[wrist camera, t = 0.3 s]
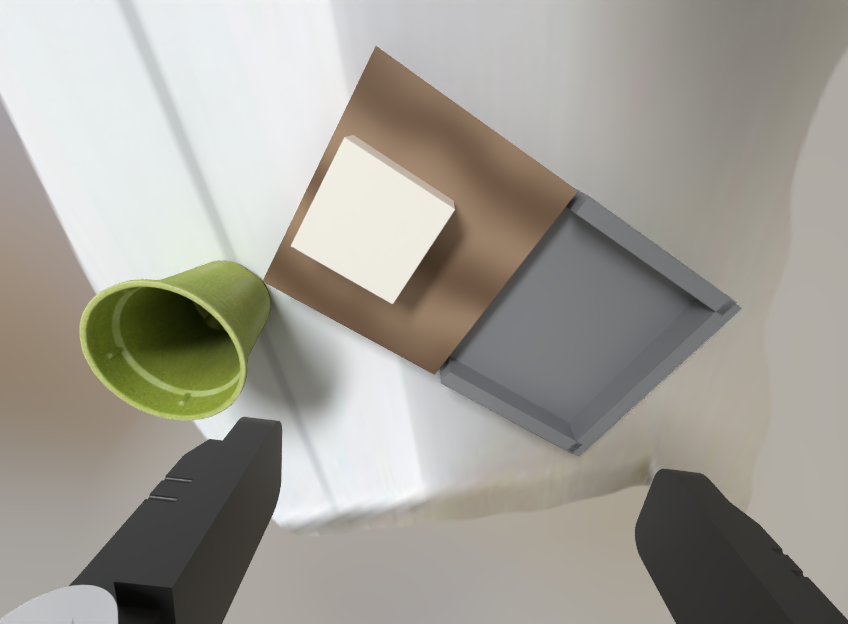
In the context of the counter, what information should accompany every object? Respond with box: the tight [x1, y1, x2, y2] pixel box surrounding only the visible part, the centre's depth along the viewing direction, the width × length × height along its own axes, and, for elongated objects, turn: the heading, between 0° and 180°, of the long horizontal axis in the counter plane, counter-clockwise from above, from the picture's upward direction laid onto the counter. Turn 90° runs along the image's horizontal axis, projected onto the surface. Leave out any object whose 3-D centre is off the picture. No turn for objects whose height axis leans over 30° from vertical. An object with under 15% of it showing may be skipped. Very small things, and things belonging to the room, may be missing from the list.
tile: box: [291, 135, 455, 304], centre depth 25 cm, size 7×7×2 cm
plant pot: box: [80, 261, 270, 421], centre depth 27 cm, size 9×9×9 cm
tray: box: [441, 189, 742, 456], centre depth 30 cm, size 16×14×3 cm
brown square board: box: [263, 46, 577, 375], centre depth 27 cm, size 16×14×2 cm
